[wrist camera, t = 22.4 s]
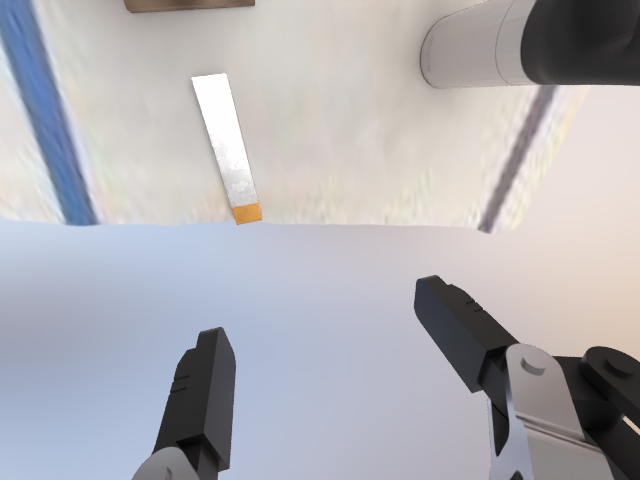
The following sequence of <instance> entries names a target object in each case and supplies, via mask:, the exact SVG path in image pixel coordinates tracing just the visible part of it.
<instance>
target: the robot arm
mask: <svg viewBox="0 0 640 480" xmlns="http://www.w3.org/2000/svg"><path fill="white" fill-rule="evenodd" d="M421 68H422V72H423V75H424V77H425V79H426V80H427V82H428V83H429V84H431V85H432V86H434V87H436V88H466V87H494V86H521V85H549V84H558V85H631V86H634V85H635V86H640V0H487V1H485V2H482V3H480V4H477V5H475V6H472V7H470V8H467V9H464V10H462V11H459V12H457V13H454V14H452V15H449V16H447V17H444V18H442V19H441V20H439V21H438V22H437V23H436V24H435V25H434V26H433V27H432V28H431V30H430V31H429V33H428V35H427V37H426V39H425V41H424V44H423V47H422V52H421ZM414 309H415V313H416V316H417V318H418V319H419V321H420V322H421V324H422V325H423V326H424V328H425V329H426V331H427V332H428V333H429V335H430V336H431V337H432V339H433V340H434V342H435V343H436V344H437V346H438V347H439V349H440V350H441V351H442V353H443V354H444V355H445V357H446V358H447V360H448V361H449V362H450V364H451V365H452V366H453V368H454V369H455V371H456V372H457V373H458V375H459V376H460V377H461V379H462V380H463V382H464V383H465V384H466V386H467V387H468V389H469V390H470V391H471V393H474V392H477V391H481V390H484V392H485V393H486V394H487V396H488V399H487V406H488V421H489V434H490V448H491V468H490V474H489V480H640V435H638V433H636V432H635V431H634V430H633V429H632V428H631V427H630V426H629V425H628V424H627V423H626V422H625V421H624V420H623V418H624V417H625V416H626V417H627V418H629V419H630V420H631V421H632V422H633V423H634V424H635V425H636V426H637V427H638V428H639V429H640V362H639V361H637V360H636V359H634V358H633V357H631V356H629V355H627V354H625V353H623V352H620V351H618V350H615V349H612V348H608V347H601V346H596V347H591V348H590V349H588V350H587V351H586V353H585V355H584V356H583V357H561V356H551V355H549V354H548V353H547V352H545V351H543V350H541V349H539V348H537V347H535V346H532V345H528V344H521V343H519V342H518V341H517V340H516V339H515V338H514V337H513V336H511V334H510V333H508V331H506V330H505V329H504V328H503V327H502V326H501V325H500V324H499V323H498V322H497V321H496V320H495V319H494V318H493V317H492V316H491V315H490V314H488V313H487V312H486V311H485V310H483V308H482V307H481V306H480V305H479V304H478V303H477V302H476V303H475V300H474V299H473V298H471V297H470V296H469V295H468V294H467V293H466V292H465V291H463V290H462V289H460V288H458V287H456V286H454V285H452V284H450V285H447V284H446V283H445V282H444V281H443V280H442V279H441V278H440V277H439V276H437V275H433V276H429V277H425V278H421V279H418V280H417V282H416V292H415V301H414ZM235 372H236V362H235V355H234V352H233V349H232V347H231V345H230V343H229V341H228V338H227V336H226V334H225V331H224V330H223V328H222V327H218V328H214V329H210V330H206V331H202V332H200V333H199V336H198V340H197V346H196V348H193V349H189V350H187V351H186V353H185V354H184V356H183V357H182V359H181V360H180V362H179V363H178V365H177V368H176V372H175V376H174V382H173V383H172V387H171V390H170V395H169V397H168V401H167V405H166V408H165V412H164V415H163V419H162V423H161V426H160V430H159V434H158V438H157V441H156V444H155V447H154V450H153V452H152V454H151V456H150V457H149V458H148V459H147V460H146V461H145V462H144V463H143V464H142V465H141V466H140V467H139V469H138V470H137V472H136V473H135V475H134V477H133V478H132V480H217V479H218V472H220V471H223V470H227V469H229V467H230V450H231V436H232V420H233V404H234V387H235Z"/></svg>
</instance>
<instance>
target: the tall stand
mask: <svg viewBox="0 0 640 480" xmlns="http://www.w3.org/2000/svg"><path fill="white" fill-rule="evenodd" d="M124 3H125V5H126V8H127V10H129V11H130V12H131V13H139V12H155V11H171V10H187V9H204V8H220V7H236V6H252V5H255V0H124Z"/></svg>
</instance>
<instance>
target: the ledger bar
mask: <svg viewBox="0 0 640 480" xmlns="http://www.w3.org/2000/svg"><path fill="white" fill-rule="evenodd" d="M192 81H193V84H194V88H195V91H196V94H197V97H198V101H199V104H200V107H201V110H202V113H203V117H204V120H205V123H206V126H207V130H208V133H209V136H210V139H211V143H212V146H213V149H214V152H215V155H216V159H217V162H218V165H219V168H220V172H221V175H222V178H223V181H224V185H225V188H226V191H227V194H228V197H229V201H230V204H231V207H232V210H233V214H234V217H235V220H236V223H237V225H239V224H244V223H249V222H254V221H259V220H262V215H261V209H260V205H259V201H258V197H257V193H256V189H255V185H254V181H253V177H252V173H251V169H250V165H249V161H248V157H247V153H246V149H245V145H244V141H243V137H242V133H241V129H240V125H239V121H238V117H237V113H236V109H235V105H234V101H233V97H232V93H231V89H230V85H229V81H228V77H227V75H226V74H219V75H210V76H202V77H193V78H192Z"/></svg>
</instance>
